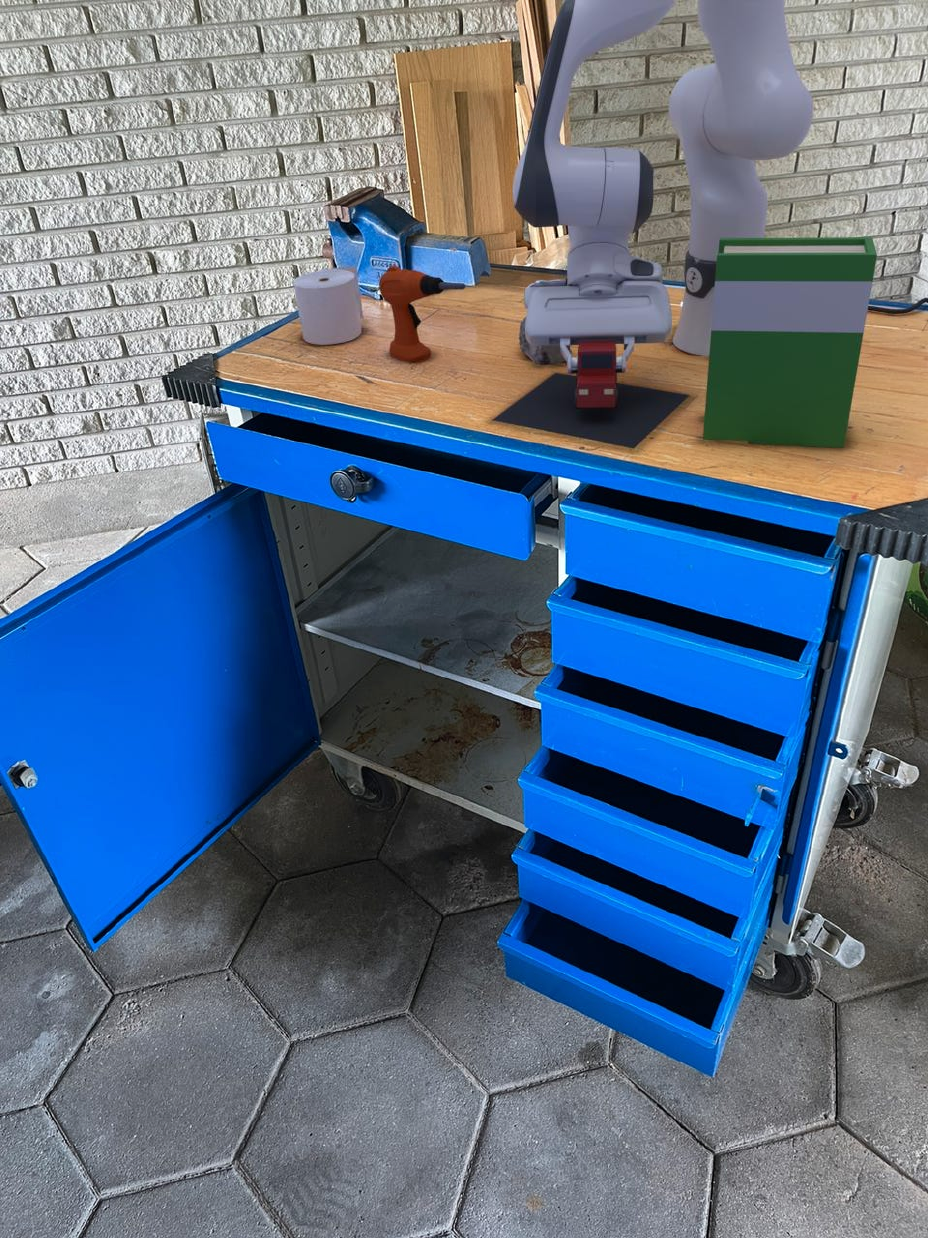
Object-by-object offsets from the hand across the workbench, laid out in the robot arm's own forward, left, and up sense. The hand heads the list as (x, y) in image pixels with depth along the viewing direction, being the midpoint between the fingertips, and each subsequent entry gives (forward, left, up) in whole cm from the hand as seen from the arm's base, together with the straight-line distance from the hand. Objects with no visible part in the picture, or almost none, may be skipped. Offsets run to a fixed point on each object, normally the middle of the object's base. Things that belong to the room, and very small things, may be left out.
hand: (596, 371), depth 133 cm
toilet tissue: (+18, -58, -7) cm, 60 cm away
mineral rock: (-7, -26, -7) cm, 27 cm away
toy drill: (+10, -35, -7) cm, 36 cm away
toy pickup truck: (-1, -2, -5) cm, 5 cm away
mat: (0, -2, -6) cm, 7 cm away
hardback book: (-15, +19, -7) cm, 25 cm away
